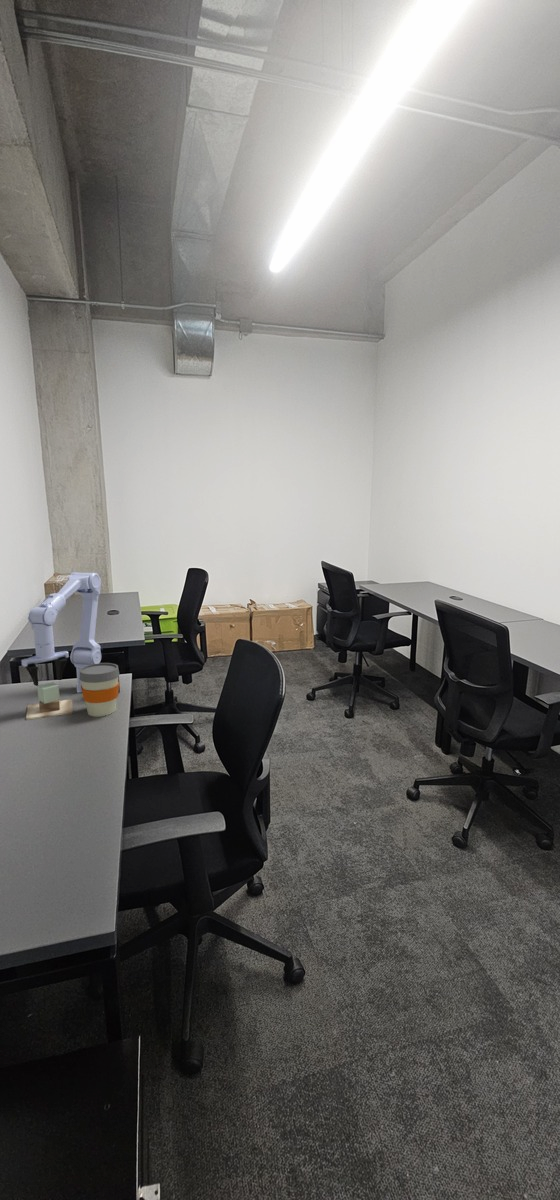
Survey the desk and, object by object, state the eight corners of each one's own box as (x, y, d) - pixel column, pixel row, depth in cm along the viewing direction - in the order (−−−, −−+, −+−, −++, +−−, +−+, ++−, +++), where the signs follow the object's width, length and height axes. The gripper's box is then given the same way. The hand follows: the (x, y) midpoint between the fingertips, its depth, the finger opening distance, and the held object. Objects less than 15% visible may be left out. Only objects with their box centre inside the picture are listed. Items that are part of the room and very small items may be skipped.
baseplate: (71, 700, 179) (71, 691, 178) (72, 713, 168) (72, 702, 167) (28, 706, 173) (27, 696, 172) (26, 720, 162) (25, 709, 162)
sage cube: (53, 695, 173) (52, 682, 173) (59, 699, 170) (58, 685, 169) (38, 699, 170) (37, 685, 169) (44, 703, 166) (43, 689, 166)
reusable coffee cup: (96, 722, 161) (93, 677, 158) (74, 712, 168) (71, 669, 166) (129, 709, 171) (126, 667, 168) (107, 701, 178) (104, 660, 176)
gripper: (61, 636, 174) (64, 674, 177) (16, 644, 164) (20, 684, 166) (70, 640, 169) (73, 679, 172) (24, 649, 159) (28, 689, 162)
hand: (47, 682), depth 169 cm, fingers open, 7 cm apart
